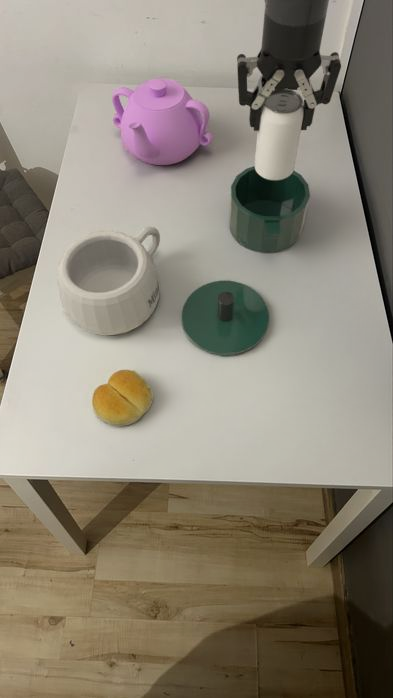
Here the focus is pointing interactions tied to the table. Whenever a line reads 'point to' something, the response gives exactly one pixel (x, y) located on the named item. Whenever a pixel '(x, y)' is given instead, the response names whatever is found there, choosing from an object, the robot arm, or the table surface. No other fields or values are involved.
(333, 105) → the table surface
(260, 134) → the can
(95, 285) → the mug
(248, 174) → the pot
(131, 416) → the bread roll
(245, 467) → the table surface
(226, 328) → the lid
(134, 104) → the teapot
